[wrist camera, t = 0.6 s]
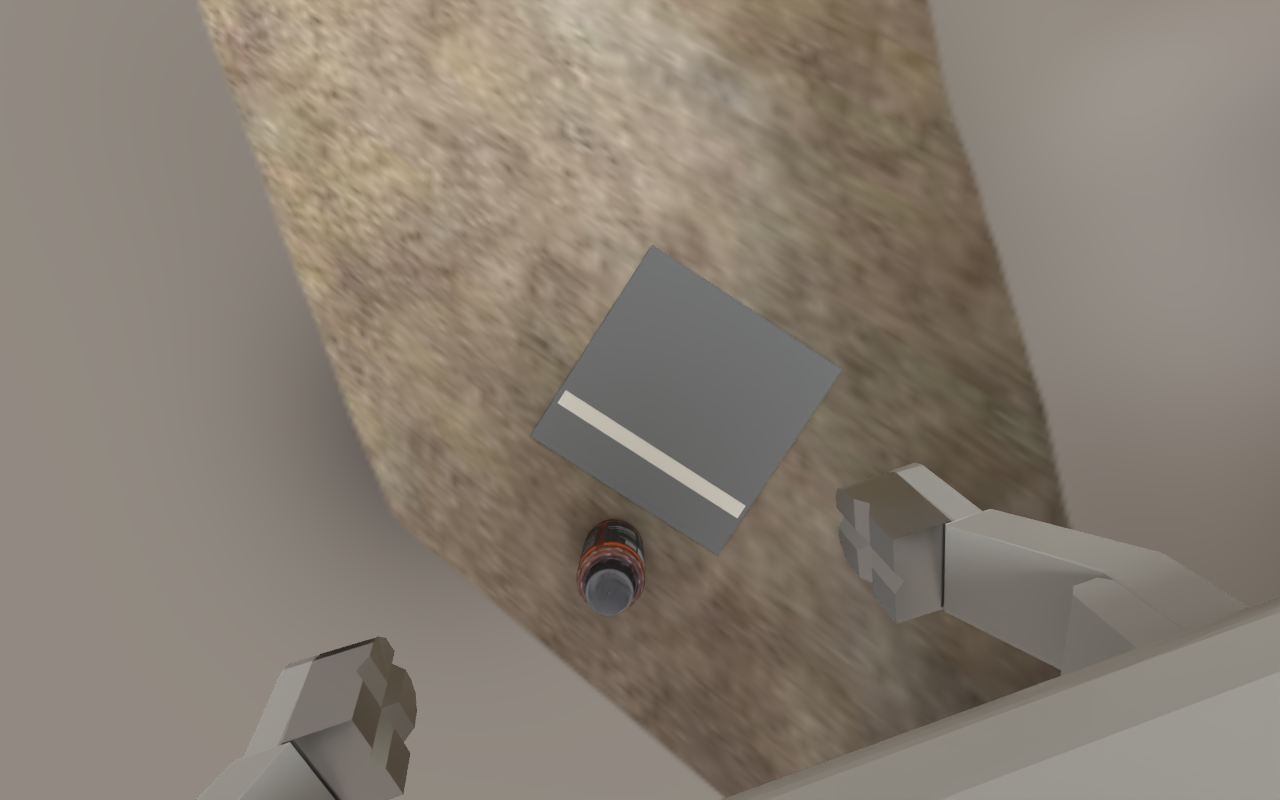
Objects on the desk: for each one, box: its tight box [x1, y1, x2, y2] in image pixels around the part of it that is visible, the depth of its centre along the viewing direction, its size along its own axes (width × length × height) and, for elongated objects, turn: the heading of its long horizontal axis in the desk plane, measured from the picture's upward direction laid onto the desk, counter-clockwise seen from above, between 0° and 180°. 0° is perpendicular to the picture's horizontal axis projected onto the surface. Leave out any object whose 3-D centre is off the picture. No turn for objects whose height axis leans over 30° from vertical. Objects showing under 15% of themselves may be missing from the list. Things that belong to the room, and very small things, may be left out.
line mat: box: [530, 245, 842, 556], centre depth 57 cm, size 22×22×1 cm
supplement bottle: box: [577, 520, 645, 616], centre depth 53 cm, size 6×6×11 cm
